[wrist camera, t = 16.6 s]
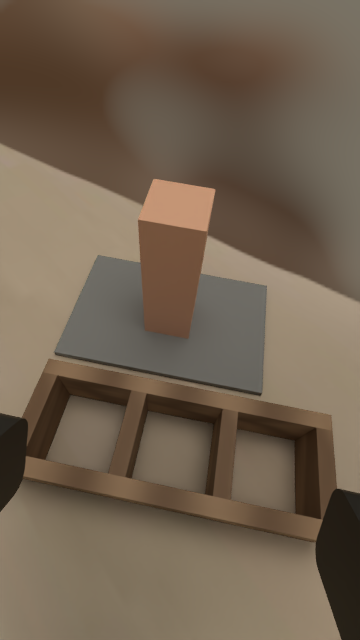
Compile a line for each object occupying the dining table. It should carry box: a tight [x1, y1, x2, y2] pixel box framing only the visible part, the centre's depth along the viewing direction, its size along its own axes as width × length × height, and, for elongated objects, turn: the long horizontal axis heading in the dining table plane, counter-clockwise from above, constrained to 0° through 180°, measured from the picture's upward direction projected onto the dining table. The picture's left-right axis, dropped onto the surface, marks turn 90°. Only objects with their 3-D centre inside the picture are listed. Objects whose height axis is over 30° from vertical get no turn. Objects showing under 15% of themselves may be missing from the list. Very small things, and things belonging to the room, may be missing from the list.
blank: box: [138, 179, 215, 339], centre depth 27 cm, size 4×4×14 cm
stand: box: [22, 359, 337, 542], centre depth 25 cm, size 23×8×4 cm, turn 80°
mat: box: [54, 255, 267, 395], centre depth 34 cm, size 20×13×1 cm, turn 80°
